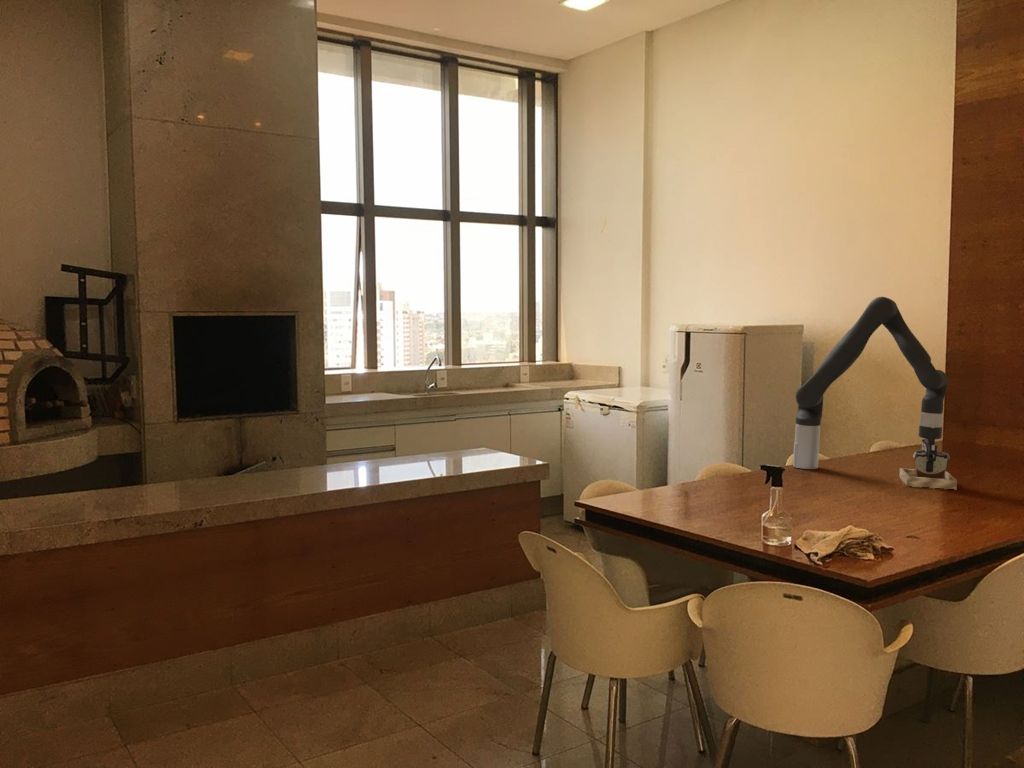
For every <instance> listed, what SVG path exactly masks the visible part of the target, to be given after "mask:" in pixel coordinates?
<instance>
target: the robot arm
mask: <svg viewBox="0 0 1024 768" xmlns="http://www.w3.org/2000/svg"><path fill="white" fill-rule="evenodd" d="M881 325H883V326H884V328H886V329H887V331H888V332H889V333H890V335H892V337H893V339H894V341H895V342H896V344H897V347H898V348H899V350H900V352H901V354H902V355H903V356H904V358H905V359H906V361H907V362H908V364H910V366H911V367H912V369H913V370H914V373H915V376H916V377H917V379H918V381H919V383H920V384H921V386H923V388H925V394H924V396H923V397H922V400H921V407H920V408H921V409H920V416H919V425H918V437H919V438H922V440H921V450H923V452H925V455H926V456H927V458H926V461H927V463H926V471H927V472H933V465H934V462H935V461H936V453H937V449H938V445H937V443H936V440H941V439H942V436H943V427H944V426H943V425H944V400H945V396H946V393H947V388H948V382H949V381H948V376H947V374H946V372H944V370H941V369H936V368H935V366H934V365H933V363H932V357H931V356H930V354H929V352H928V351H927V350H926V348H925V347H924V346H923V345H922V343H921V342H920V341H919V340H918V338H917V337H916V336H915V334H914V333H913V332H912V330H911V329H910V327H909V326H908V325H907V322H905V320H904V317H903V316H902V314H901V312H900V309H899V307H898V304H897V303H896V302H895V301H894V300H893V299H890V298H889V297H885V296H879V297H875V298H874V299H872V300H871V301H870V302H869V304H868V305H867V307H866V308H865V310H864V311H863V312H862V314H861V315H860V316H859V318H858V319H857V321H856V322H855V324H853V326H852V327H851V328H850V329H849V330H848V331H847V332H846V333H845V334H844V335H843V336H842V337H841V338H840V340H839V341H838V342H837V343H836V344H835V346H834V347H833V348H832V349H831V350H830V352H829V353H828V354H827V355H826V357H825V358H824V360H823V361H822V362H821V363H820V365H819V367H818V368H817V369H816V371H815V372H814V373H813V375H811V376H810V377H809V378H808V379H807V380H806V381H805V383H803V384H802V385H801V386H800V387H799V388H798V389H797V390H796V393H795V401H796V404H798V407H797V414H796V417H795V427H794V428H795V430H794V442H793V455H792V456H793V458H792V465H793V468H798V469H803V470H816V469H819V457H820V456H819V455H820V441H821V440H820V437H821V421H822V416H823V406H824V394H825V392H827V390H828V388H829V387H830V386H831V385H832V384H833V383H834V382H835V381H836V380H838V379H839V378H840V377H841V376H842V375H843V374H844V373H845V372H846V371H847V370H849V368H850V367H851V366H853V364H854V363H855V362H856V361H857V359H858V358H859V357H860V356H861V355H862V353H863V352H864V350H865V348H866V346H867V343H868V342H869V340H870V338H871V337H872V336H873V334H874V333H875V331H877V329H878V328H879V327H880V326H881ZM924 450H925V451H924ZM930 456H932V458H930Z"/></svg>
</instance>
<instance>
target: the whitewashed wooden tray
mask: <svg viewBox="0 0 1024 768" xmlns="http://www.w3.org/2000/svg"><path fill="white" fill-rule="evenodd" d="M899 477H900V478H899V479H900V480H901V481H902V482H903V484H905V486H906V487H909V486H912V487H911V488H922V487H929V488H928V489H935V488H944V489H943V490H948V489H954V490H953V491H957V489H958V487H957V486H958V480H957V479H956V478H955V477H954V476H953V475H951V474H950V473H949V472H948V471H945V476H944V479H937V478H924V477H916V476H915V468H914V469H913V468H901V467H900V468H899Z"/></svg>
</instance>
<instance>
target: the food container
mask: <svg viewBox="0 0 1024 768" xmlns="http://www.w3.org/2000/svg"><path fill="white" fill-rule="evenodd" d="M924 451H925V449H924ZM912 457H913V459H914V469H915V476H916V477H924V478H937V479H944V476H945V472H947V471H946V470H947V467H948V466H947V465H948V460H950V459H951V458H950V455H949V453H948V452H943V451H937V453H936V461H935V462H934V465H933V472H927V471H926V463H927V461H926V458H927V456H926V455H925V452H923V450H922V449H919V450H915V451H914V453H913V455H912ZM930 458H932V456H930Z"/></svg>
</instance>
